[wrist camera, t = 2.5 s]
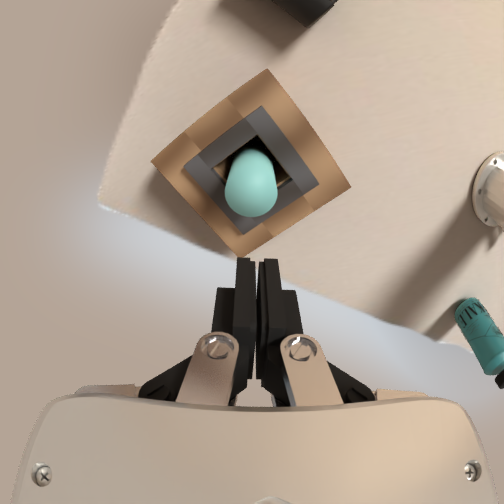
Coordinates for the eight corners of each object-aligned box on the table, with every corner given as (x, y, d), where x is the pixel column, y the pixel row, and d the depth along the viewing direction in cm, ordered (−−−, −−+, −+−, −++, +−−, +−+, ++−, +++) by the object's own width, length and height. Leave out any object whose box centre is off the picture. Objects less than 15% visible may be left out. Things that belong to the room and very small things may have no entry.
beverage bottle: (466, 316, 50) (509, 391, 33) (444, 317, 49) (486, 398, 32) (480, 291, 46) (530, 366, 29) (458, 291, 46) (509, 372, 29)
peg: (279, 166, 31) (287, 198, 23) (248, 188, 32) (246, 226, 24) (256, 136, 29) (256, 157, 21) (225, 159, 30) (214, 188, 23)
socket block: (333, 165, 35) (354, 190, 28) (242, 225, 40) (239, 264, 32) (264, 71, 30) (267, 67, 22) (171, 144, 34) (147, 164, 27)
